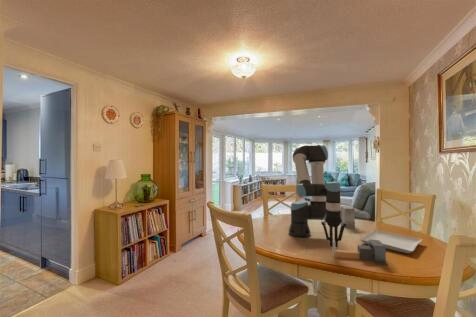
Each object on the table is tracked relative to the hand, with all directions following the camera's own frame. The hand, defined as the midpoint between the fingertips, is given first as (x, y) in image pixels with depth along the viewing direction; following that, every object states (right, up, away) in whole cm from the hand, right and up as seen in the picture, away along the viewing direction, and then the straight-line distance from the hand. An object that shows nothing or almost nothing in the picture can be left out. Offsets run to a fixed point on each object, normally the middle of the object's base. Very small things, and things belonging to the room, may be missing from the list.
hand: (333, 252), depth 125 cm
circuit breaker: (+35, -2, +59) cm, 68 cm away
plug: (+10, -2, -2) cm, 11 cm away
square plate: (+43, -2, +17) cm, 46 cm away
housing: (+21, -1, -5) cm, 21 cm away
